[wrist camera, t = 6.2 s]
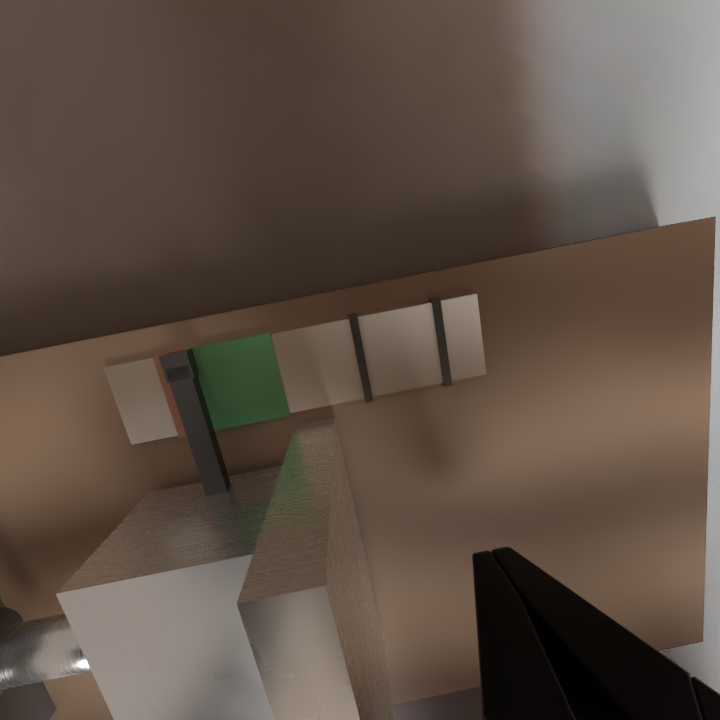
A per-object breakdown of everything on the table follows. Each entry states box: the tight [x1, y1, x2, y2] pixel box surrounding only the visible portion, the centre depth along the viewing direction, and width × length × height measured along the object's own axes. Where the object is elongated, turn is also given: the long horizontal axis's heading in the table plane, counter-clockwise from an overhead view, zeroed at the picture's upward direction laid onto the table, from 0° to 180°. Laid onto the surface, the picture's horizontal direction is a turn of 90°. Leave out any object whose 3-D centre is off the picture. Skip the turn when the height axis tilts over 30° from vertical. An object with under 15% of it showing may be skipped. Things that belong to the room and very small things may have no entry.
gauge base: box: [0, 217, 716, 720], centre depth 8 cm, size 13×24×6 cm, turn 101°
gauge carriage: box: [0, 349, 393, 720], centre depth 7 cm, size 9×9×5 cm
